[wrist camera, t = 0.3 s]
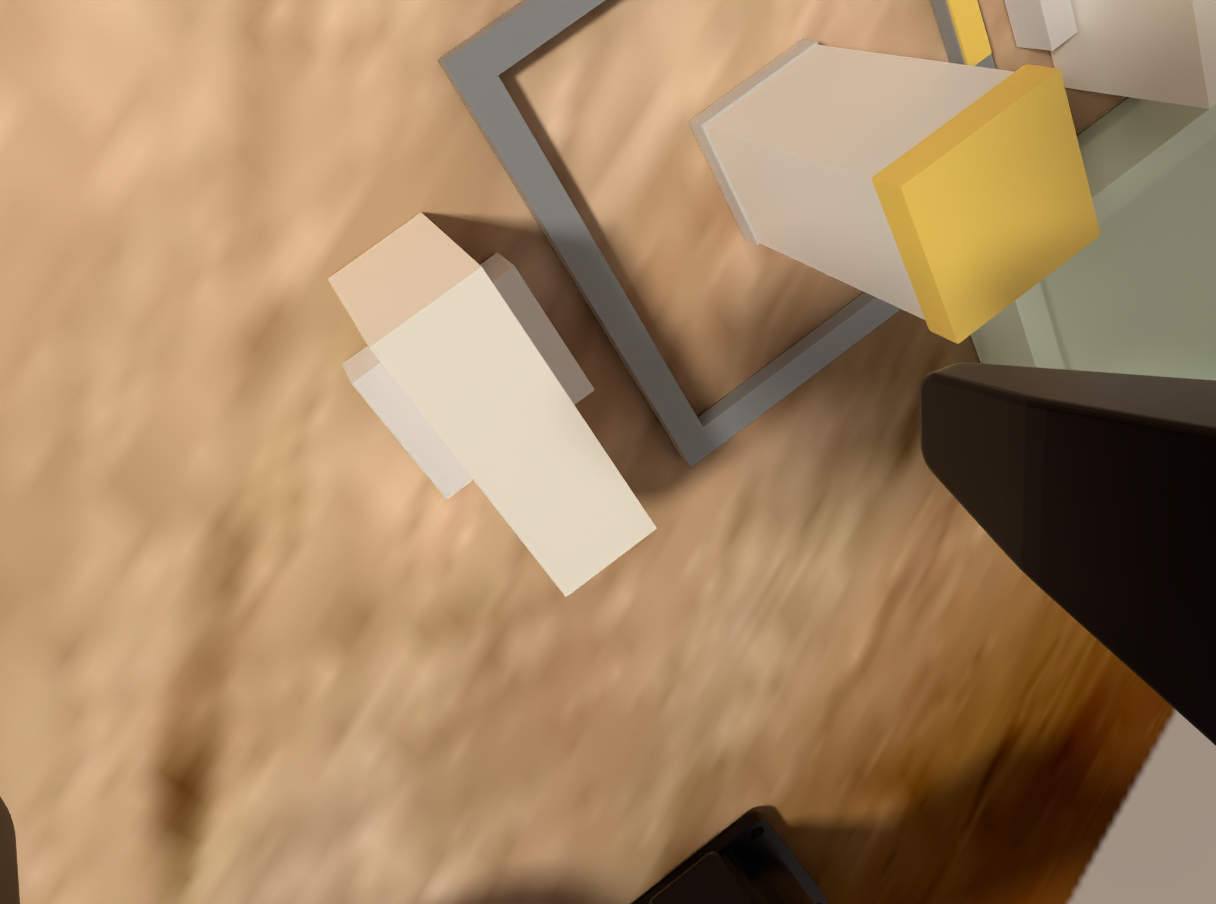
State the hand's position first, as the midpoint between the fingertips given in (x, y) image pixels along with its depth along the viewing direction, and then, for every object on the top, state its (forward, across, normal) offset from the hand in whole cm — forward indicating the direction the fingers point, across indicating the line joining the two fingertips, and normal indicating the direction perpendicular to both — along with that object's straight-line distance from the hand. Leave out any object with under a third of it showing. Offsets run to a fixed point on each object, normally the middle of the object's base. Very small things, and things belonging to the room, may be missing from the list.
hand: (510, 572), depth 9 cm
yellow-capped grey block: (+14, -11, +1) cm, 18 cm away
